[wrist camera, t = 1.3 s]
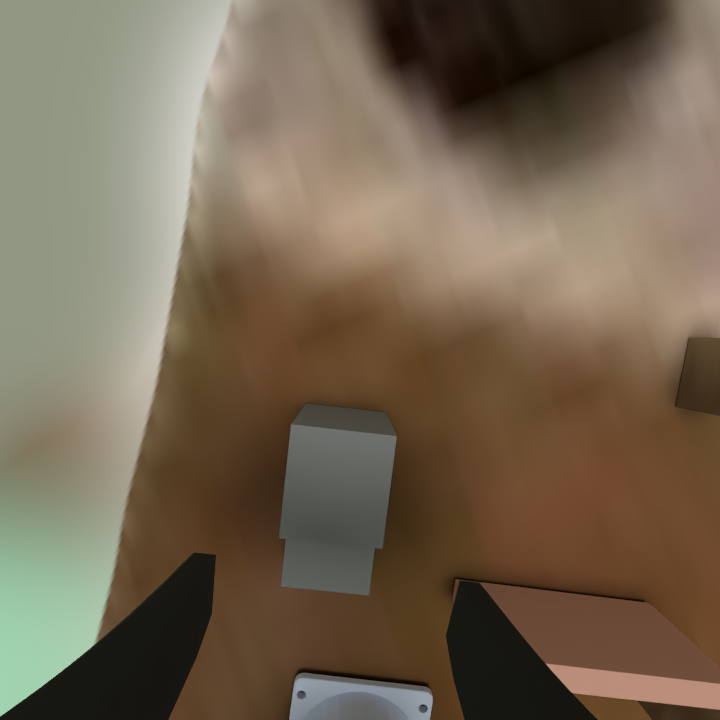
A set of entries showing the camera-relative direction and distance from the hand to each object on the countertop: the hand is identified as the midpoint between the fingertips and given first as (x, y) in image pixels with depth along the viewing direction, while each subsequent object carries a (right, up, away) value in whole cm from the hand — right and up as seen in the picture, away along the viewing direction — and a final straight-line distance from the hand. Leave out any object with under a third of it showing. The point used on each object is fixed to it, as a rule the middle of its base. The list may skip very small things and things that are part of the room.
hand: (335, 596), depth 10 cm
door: (+12, -7, +10) cm, 17 cm away
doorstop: (-1, 0, +10) cm, 10 cm away
